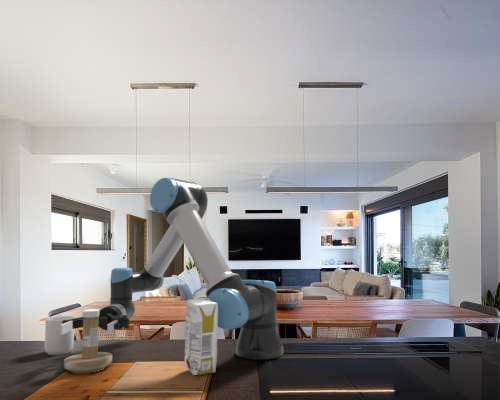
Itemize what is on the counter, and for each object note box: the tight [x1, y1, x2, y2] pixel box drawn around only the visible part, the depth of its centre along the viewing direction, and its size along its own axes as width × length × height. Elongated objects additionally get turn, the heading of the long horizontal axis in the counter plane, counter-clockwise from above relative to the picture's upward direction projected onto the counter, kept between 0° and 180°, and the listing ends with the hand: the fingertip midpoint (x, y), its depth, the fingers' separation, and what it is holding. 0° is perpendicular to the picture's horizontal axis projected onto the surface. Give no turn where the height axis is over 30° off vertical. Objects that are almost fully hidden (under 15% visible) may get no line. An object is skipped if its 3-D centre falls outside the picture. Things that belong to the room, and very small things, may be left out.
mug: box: [44, 315, 76, 356], centre depth 139 cm, size 12×9×11 cm
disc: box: [63, 351, 113, 375], centre depth 117 cm, size 13×13×3 cm
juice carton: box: [184, 297, 219, 376], centre depth 112 cm, size 8×9×19 cm
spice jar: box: [81, 308, 100, 359], centre depth 119 cm, size 5×5×14 cm
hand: (84, 329), depth 115 cm, fingers open, 13 cm apart
